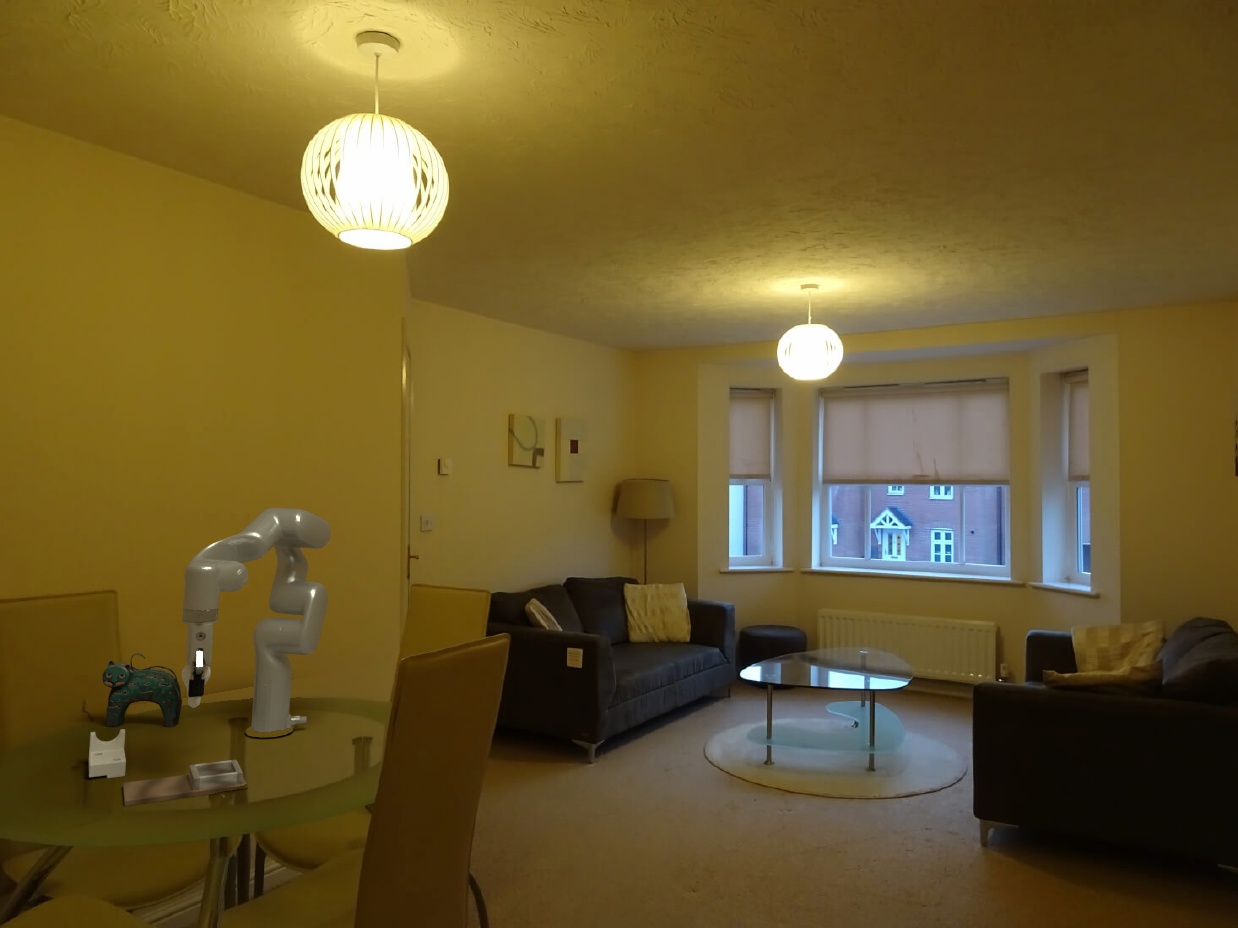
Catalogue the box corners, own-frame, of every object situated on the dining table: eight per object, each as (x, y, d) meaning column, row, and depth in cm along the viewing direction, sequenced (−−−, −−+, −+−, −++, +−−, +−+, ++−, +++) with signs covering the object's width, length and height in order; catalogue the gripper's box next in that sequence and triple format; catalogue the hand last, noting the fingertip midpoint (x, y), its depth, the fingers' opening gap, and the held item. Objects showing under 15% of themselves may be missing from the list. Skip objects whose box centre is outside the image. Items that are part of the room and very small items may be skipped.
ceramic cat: (97, 728, 227) (102, 654, 227) (108, 721, 233) (113, 649, 234) (175, 728, 230) (180, 656, 230) (183, 722, 236) (188, 651, 237)
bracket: (88, 763, 200) (90, 732, 200) (122, 759, 204) (124, 728, 204) (88, 781, 189) (91, 747, 190) (124, 776, 193) (127, 744, 193)
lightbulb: (195, 711, 192) (199, 663, 192) (173, 709, 193) (176, 661, 193) (214, 705, 197) (217, 659, 198) (191, 703, 199) (195, 657, 199)
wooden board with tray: (239, 772, 199) (240, 757, 199) (247, 789, 189) (248, 773, 189) (122, 787, 186) (124, 771, 186) (124, 805, 176) (126, 789, 176)
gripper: (221, 621, 191) (215, 701, 190) (214, 610, 205) (209, 684, 205) (184, 622, 187) (178, 703, 186) (180, 611, 202) (174, 686, 201)
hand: (194, 692), depth 196 cm, fingers closed on lightbulb, 5 cm apart
